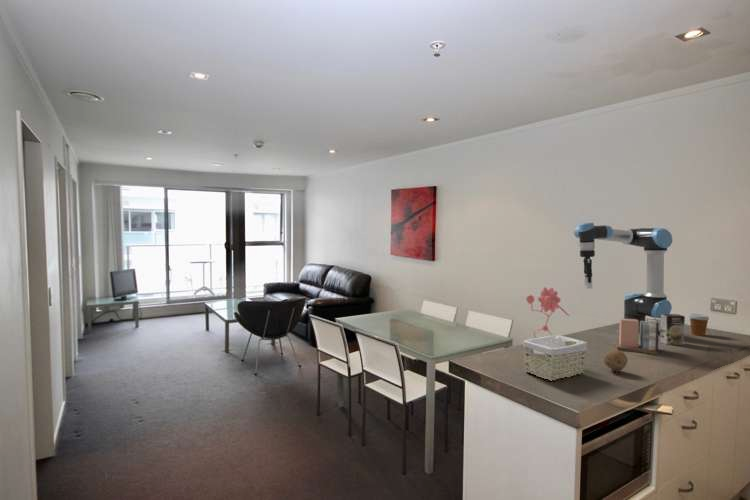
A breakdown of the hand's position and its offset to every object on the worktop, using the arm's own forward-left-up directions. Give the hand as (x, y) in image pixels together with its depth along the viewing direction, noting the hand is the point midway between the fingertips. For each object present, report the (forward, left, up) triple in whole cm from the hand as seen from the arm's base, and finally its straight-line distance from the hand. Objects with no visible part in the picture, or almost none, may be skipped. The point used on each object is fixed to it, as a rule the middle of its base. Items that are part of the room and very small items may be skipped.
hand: (588, 286), depth 235 cm
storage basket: (+68, -18, -31) cm, 77 cm away
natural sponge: (+55, +7, -31) cm, 64 cm away
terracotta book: (+10, +19, -30) cm, 37 cm away
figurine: (+43, -20, -31) cm, 57 cm away
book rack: (+10, +22, -31) cm, 39 cm away
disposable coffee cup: (-40, +63, -31) cm, 81 cm away
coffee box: (-11, +43, -31) cm, 54 cm away
